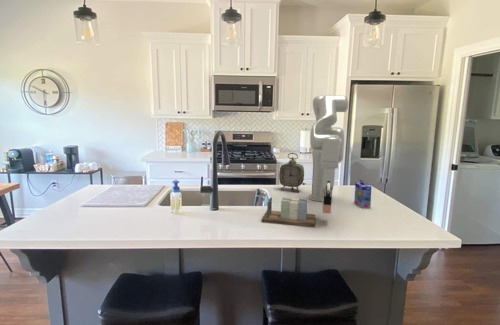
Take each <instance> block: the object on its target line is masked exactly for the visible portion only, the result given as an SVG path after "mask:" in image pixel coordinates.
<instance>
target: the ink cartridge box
mask: <svg viewBox="0 0 500 325" xmlns="http://www.w3.org/2000/svg"><path fill="white" fill-rule="evenodd" d="M354 184H355V185H354V201H353V202H354V204H355V205H356V206H358V207H359V208H360V209H370V208H371V205H372V204H371V202H372V201H371V200H372V185H370V184H367V183H366V182H364V181H363V180H362V179H359V181H358V182H356V181H355V183H354Z"/></svg>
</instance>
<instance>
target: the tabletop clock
mask: <svg viewBox="0 0 500 325" xmlns="http://www.w3.org/2000/svg"><path fill="white" fill-rule="evenodd" d="M290 155H295V156H296V157H295V158H294V156H292V157H290ZM287 158H288V159H289V161H288V163H285V164H281V165H280V168H279V174H278V177H279V178H278V179H279V184H280V185H282V187H281V191H283V190H284V189H285V187H289V188H291V189H290V190H292V191H293V190H294V188H296V192H297V193H299V192H300V190H299V187H300V186H301V185H303V182H304V179H305V169H304V165H302V164H300V163H297V161H296V160H297V159H299V155H298V154H297V153H295V152H290V153H288V154H287Z"/></svg>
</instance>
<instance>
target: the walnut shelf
mask: <svg viewBox="0 0 500 325" xmlns="http://www.w3.org/2000/svg"><path fill="white" fill-rule="evenodd" d="M272 203H273V198H272V196H271V197H269V199H268V201H267V204H266V205H267V209H266V211H265V213H264V214H263V216H262V218H261V223H269V224H278V225H280V224H281V225H287V226H288V225H289V226H297V227H299V226H300V227H306V228H307V227H309V228H316V214H311V213H308V198H303V197H299V198H292V197H291V196H289V197H288V196H282V198H281V202H280V210H279V211H278V210H272V209H273V208H272V207H273V206H272Z"/></svg>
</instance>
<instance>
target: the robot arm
mask: <svg viewBox="0 0 500 325" xmlns="http://www.w3.org/2000/svg"><path fill="white" fill-rule="evenodd" d="M348 99H349V98H348V97H347V96H346V95H333V94H332V95H318V96H315V97H314V98H313V100H312V110H313V113H314V116H315V123H313V125H312V127H311V129H310V135H309V136H310V138H309V139H310V142H309V143H310V147H311V149H312V152H311V156H312V177H311V178H312V180H311V194H309V195H308V199H309V200H311V201H315V202H323V194H324V189H325V196H324V204H325V205H331V206H332V202H331V198H332V199H333V195H332V196H331V190H332V191H333V190H334V186H335V177H336V169H339V164H340V163H341V162H342V161H343V159H344V152H345V151H344V149H345V132H344V130H343V128H342V127H333V126H334V125H335V124H336V123H337V122H338V114H337V113H346V112H347V110H348V109H349V100H348ZM326 188H327V189H326ZM330 188H332V189H330Z"/></svg>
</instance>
